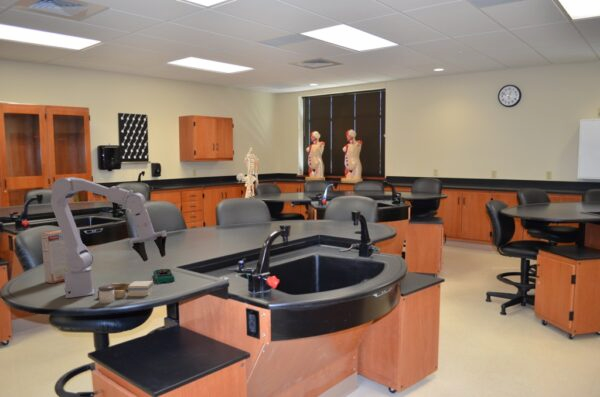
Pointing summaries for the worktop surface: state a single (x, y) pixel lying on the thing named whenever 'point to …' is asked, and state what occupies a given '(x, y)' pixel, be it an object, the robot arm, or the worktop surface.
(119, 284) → the display stand
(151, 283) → the carton
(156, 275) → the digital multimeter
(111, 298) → the jar
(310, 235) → the worktop surface
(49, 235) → the cracker box
